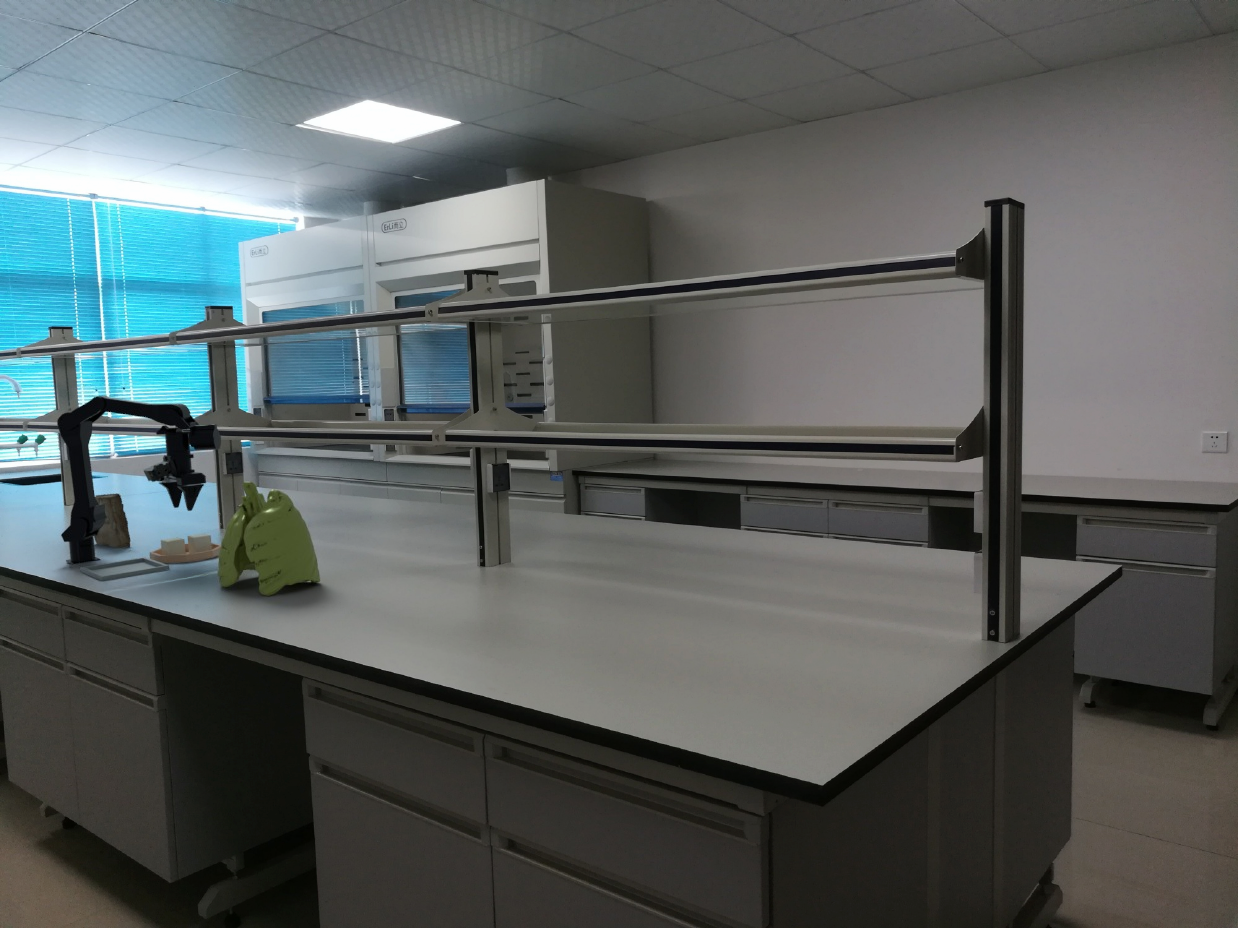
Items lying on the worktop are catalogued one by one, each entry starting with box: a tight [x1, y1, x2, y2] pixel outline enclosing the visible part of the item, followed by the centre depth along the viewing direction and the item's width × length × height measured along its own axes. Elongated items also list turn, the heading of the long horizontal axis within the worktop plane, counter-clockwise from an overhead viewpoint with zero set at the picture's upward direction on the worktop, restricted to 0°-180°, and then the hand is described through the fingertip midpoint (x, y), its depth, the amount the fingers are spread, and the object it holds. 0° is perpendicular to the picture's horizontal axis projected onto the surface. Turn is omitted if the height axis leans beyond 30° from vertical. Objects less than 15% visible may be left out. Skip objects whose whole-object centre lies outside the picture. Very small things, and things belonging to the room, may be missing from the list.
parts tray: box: [79, 556, 171, 582], centre depth 222 cm, size 17×15×2 cm
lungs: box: [217, 481, 321, 597], centre depth 203 cm, size 25×16×24 cm, turn 56°
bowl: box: [149, 542, 221, 564], centre depth 238 cm, size 16×16×2 cm
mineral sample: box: [94, 493, 131, 549], centre depth 260 cm, size 17×4×15 cm, turn 55°
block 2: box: [186, 533, 212, 554], centre depth 240 cm, size 4×4×5 cm
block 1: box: [160, 536, 186, 555], centre depth 235 cm, size 4×4×5 cm
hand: (183, 509), depth 238 cm, fingers open, 9 cm apart
